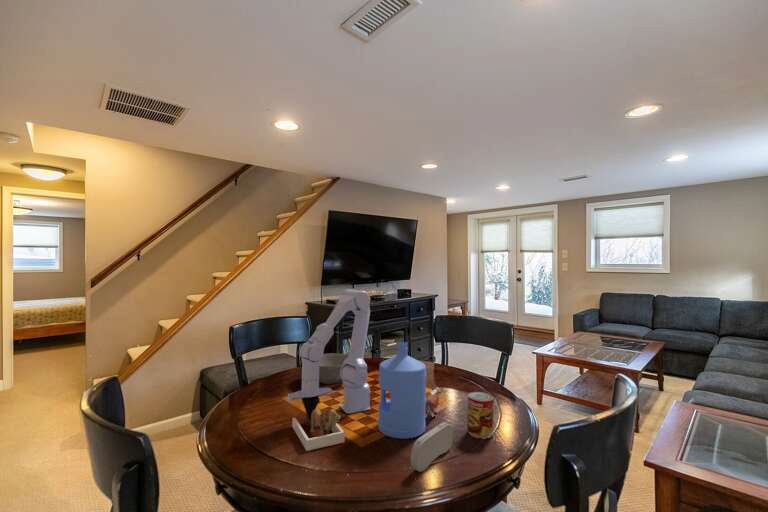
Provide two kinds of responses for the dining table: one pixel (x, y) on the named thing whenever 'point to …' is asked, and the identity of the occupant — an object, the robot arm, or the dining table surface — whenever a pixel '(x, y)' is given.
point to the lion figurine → (324, 420)
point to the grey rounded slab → (431, 446)
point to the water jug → (402, 395)
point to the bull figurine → (432, 401)
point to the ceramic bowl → (331, 368)
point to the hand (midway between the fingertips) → (309, 419)
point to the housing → (321, 440)
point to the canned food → (480, 413)
